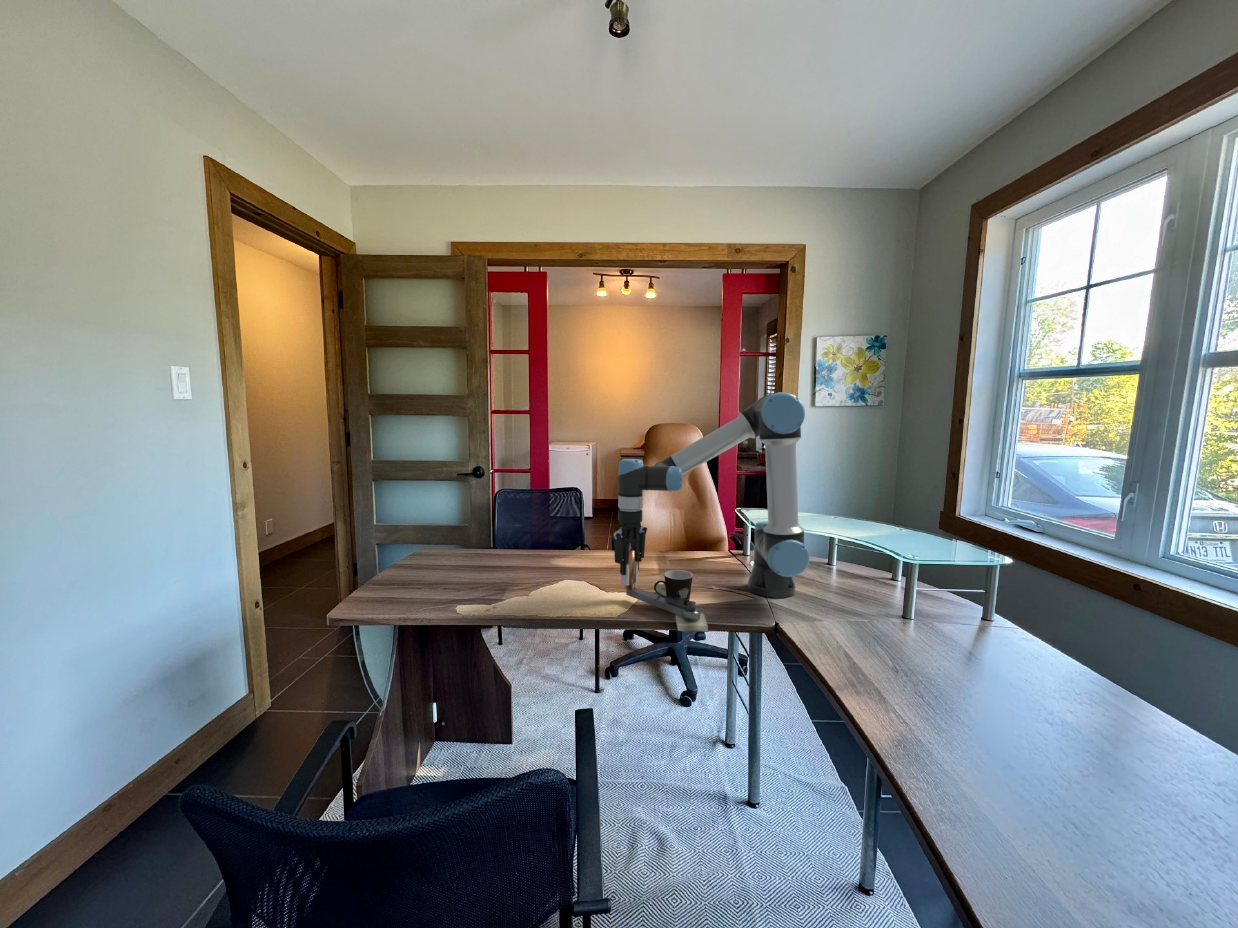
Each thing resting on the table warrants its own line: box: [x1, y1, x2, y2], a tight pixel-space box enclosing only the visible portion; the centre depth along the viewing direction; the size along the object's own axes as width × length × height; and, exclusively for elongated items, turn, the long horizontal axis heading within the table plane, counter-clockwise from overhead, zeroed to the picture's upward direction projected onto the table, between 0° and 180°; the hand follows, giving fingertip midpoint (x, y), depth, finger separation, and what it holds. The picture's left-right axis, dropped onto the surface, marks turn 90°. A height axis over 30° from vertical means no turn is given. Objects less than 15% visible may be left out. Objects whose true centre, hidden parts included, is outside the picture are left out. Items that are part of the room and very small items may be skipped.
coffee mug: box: [653, 569, 694, 606], centre depth 142 cm, size 12×9×10 cm
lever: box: [623, 548, 701, 621], centre depth 137 cm, size 28×6×14 cm, turn 44°
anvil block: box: [654, 580, 667, 597], centre depth 151 cm, size 10×3×4 cm, turn 88°
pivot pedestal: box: [674, 600, 709, 632], centre depth 129 cm, size 8×8×6 cm
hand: (629, 582), depth 146 cm, fingers closed on lever, 3 cm apart
